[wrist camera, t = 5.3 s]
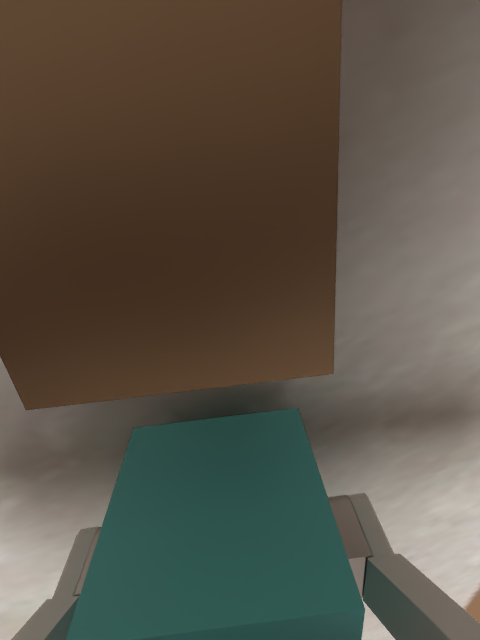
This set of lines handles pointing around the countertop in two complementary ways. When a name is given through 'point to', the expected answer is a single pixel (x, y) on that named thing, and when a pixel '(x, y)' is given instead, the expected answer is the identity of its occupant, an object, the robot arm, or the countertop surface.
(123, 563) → the teal block
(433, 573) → the countertop surface
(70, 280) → the walnut block
